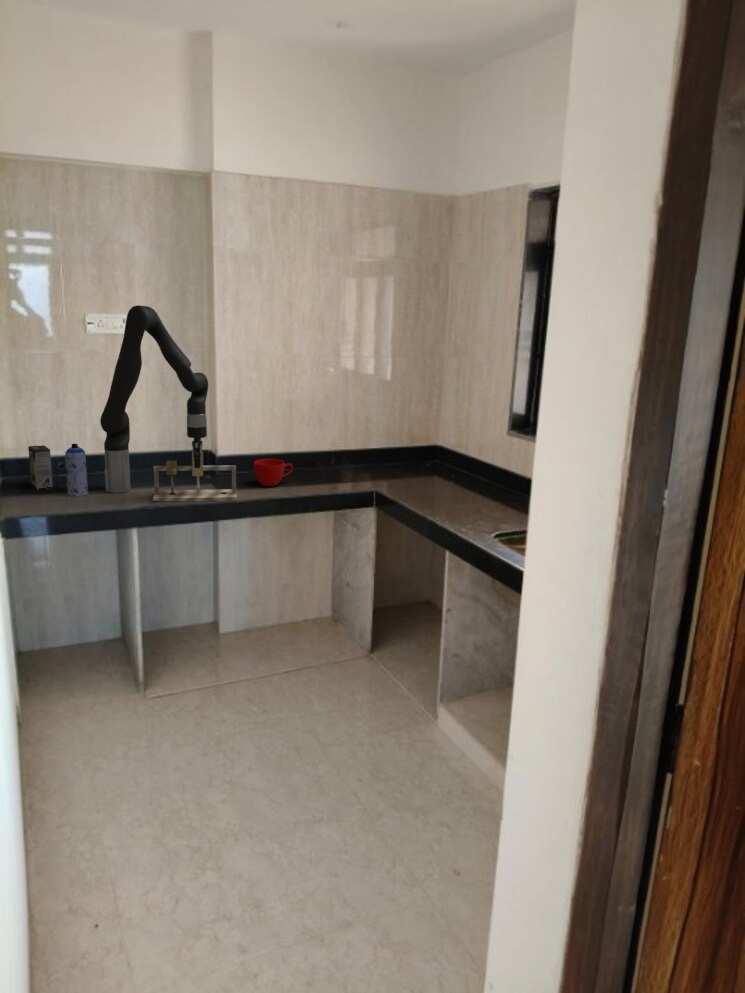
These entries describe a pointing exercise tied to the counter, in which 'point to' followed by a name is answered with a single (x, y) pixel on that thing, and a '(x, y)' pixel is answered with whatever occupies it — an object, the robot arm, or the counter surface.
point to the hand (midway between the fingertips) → (197, 465)
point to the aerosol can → (76, 470)
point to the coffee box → (40, 466)
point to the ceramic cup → (270, 471)
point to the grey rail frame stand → (192, 494)
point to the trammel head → (197, 470)
